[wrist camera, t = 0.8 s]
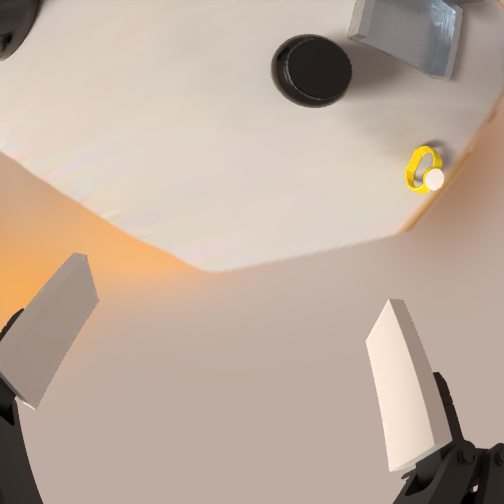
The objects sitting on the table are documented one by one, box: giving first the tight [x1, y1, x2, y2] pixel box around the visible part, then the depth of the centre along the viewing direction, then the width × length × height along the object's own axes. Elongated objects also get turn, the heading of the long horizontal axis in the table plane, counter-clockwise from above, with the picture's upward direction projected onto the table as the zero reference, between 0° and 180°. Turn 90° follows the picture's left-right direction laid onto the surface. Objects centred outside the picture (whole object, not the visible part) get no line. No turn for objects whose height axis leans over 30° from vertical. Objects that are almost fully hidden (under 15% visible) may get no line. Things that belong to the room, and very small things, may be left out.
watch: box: [405, 146, 444, 194], centre depth 28 cm, size 6×3×6 cm, turn 163°
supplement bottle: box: [271, 34, 352, 108], centre depth 21 cm, size 7×7×12 cm
